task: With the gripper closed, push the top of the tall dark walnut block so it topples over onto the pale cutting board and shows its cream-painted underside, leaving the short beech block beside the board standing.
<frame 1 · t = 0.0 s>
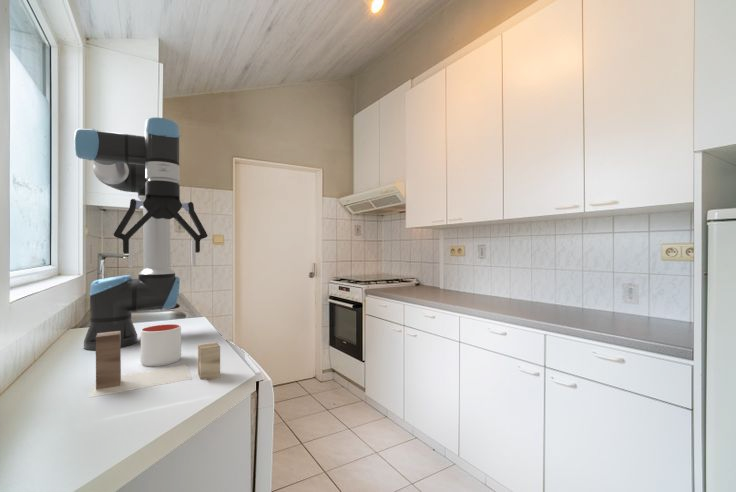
hand: (163, 266, 91), 28 cm above the countertop, fingers open, 13 cm apart
cup: (161, 363, 104), on the countertop
walnut block: (108, 385, 85), resting on board
board: (143, 380, 89), on the countertop
beech block: (209, 376, 92), on the countertop
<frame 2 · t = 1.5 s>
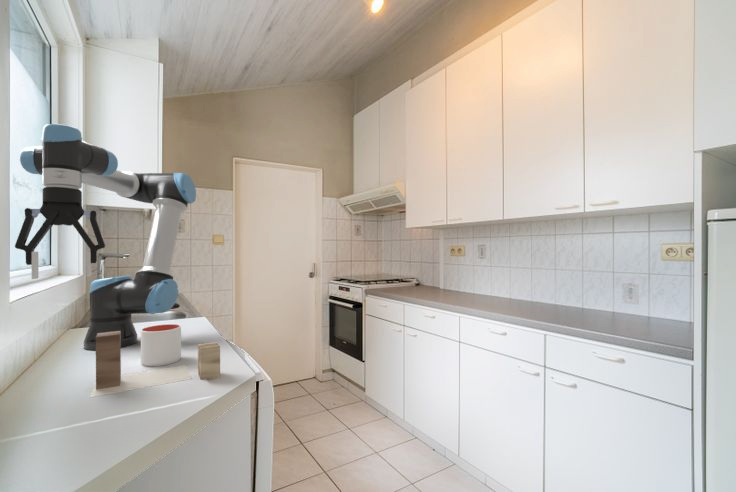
hand: (63, 277, 90), 26 cm above the countertop, fingers open, 10 cm apart
nothing on the countertop moved.
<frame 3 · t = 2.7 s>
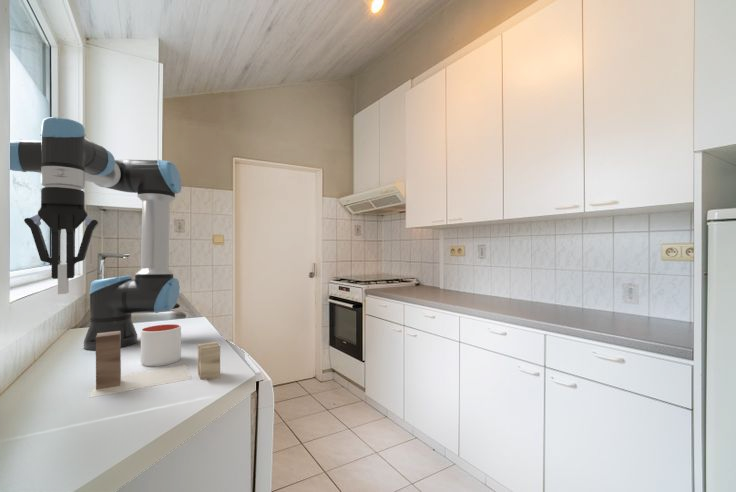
hand: (63, 293, 81), 23 cm above the countertop, fingers closed
nothing on the countertop moved.
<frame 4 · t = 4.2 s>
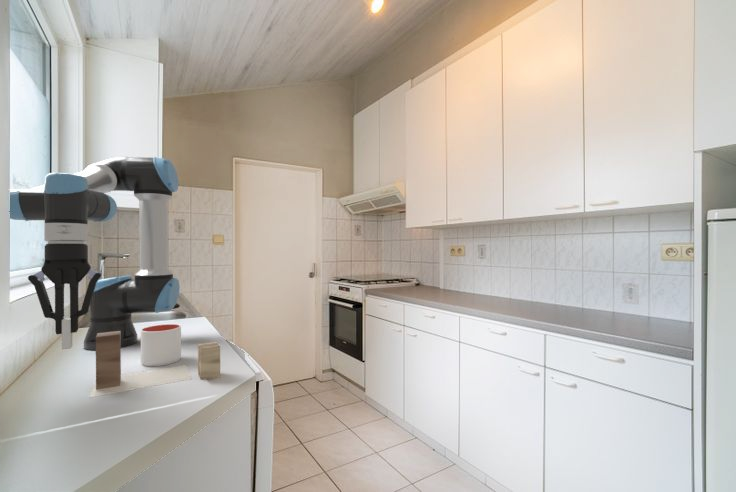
hand: (67, 347, 81), 10 cm above the countertop, fingers closed
nothing on the countertop moved.
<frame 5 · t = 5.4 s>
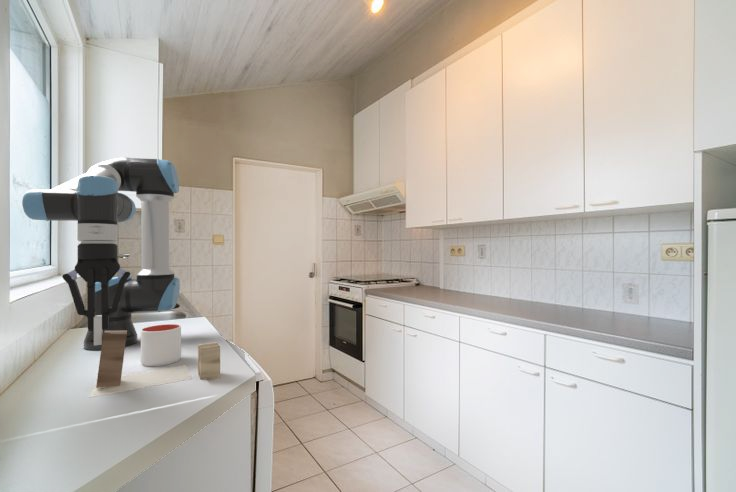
hand: (98, 343, 84), 10 cm above the countertop, fingers closed
walnut block: (108, 384, 85), point 1 cm above the countertop, tilted 6°, touching board
everything else where it was.
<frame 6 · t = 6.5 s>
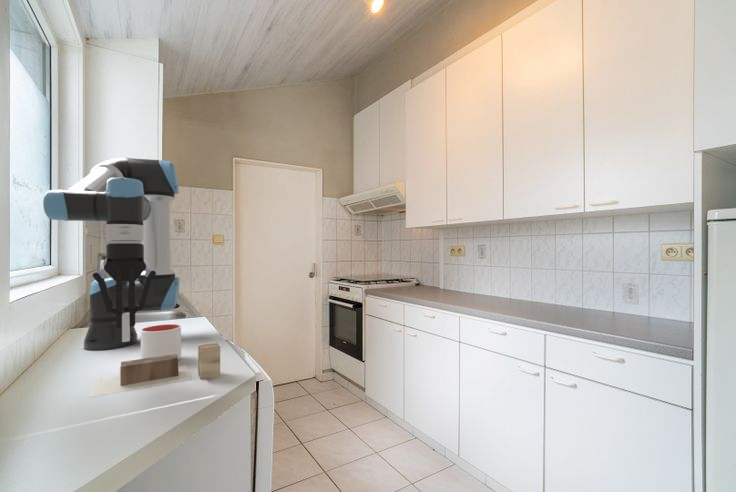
hand: (126, 340, 87), 10 cm above the countertop, fingers closed
walnut block: (120, 373, 87), point 3 cm above the countertop, tilted 90°, touching board
everything else where it was.
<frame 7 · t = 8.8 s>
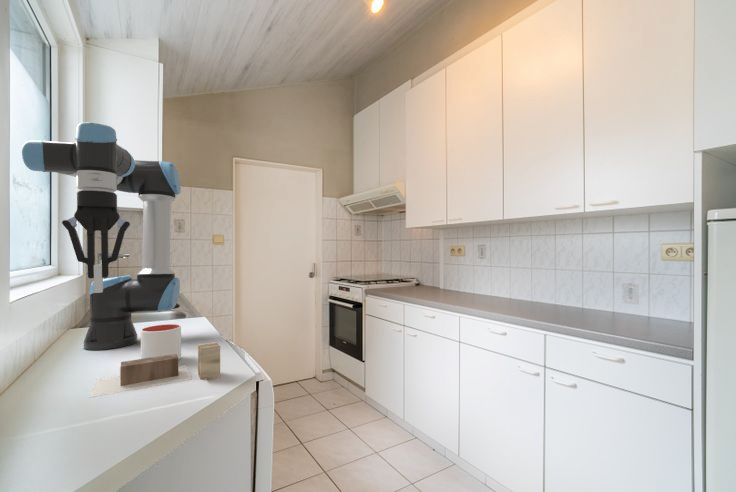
hand: (98, 292, 85), 22 cm above the countertop, fingers closed
nothing on the countertop moved.
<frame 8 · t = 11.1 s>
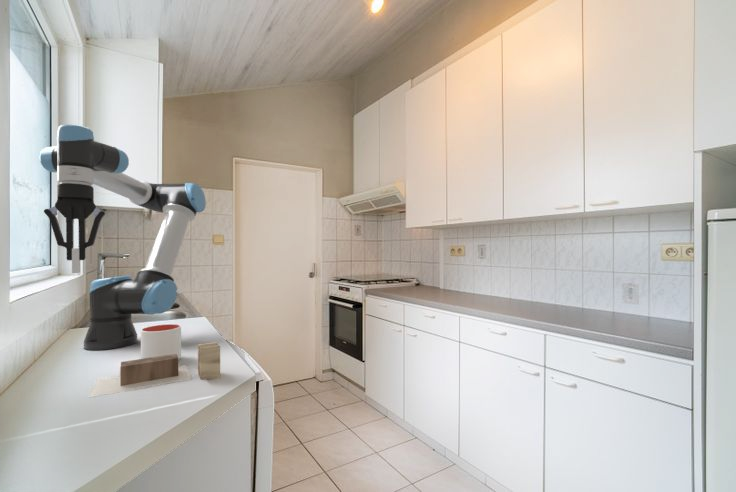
hand: (76, 272, 97), 26 cm above the countertop, fingers closed
nothing on the countertop moved.
at the end: walnut block tilted 90°; walnut block inside the target area on the board (6.7 cm from its centre), point 2.6 cm above the board's base; beech block moved 0.1 cm from its start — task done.
